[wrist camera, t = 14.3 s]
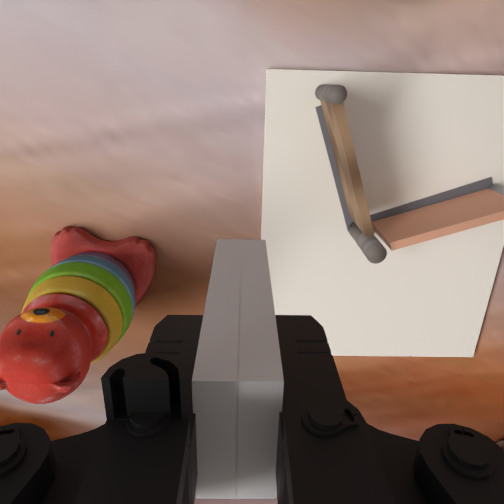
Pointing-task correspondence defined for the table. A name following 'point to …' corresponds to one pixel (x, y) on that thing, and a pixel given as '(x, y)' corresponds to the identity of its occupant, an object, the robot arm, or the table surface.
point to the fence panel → (442, 218)
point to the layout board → (382, 207)
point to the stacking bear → (73, 314)
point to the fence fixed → (349, 170)
